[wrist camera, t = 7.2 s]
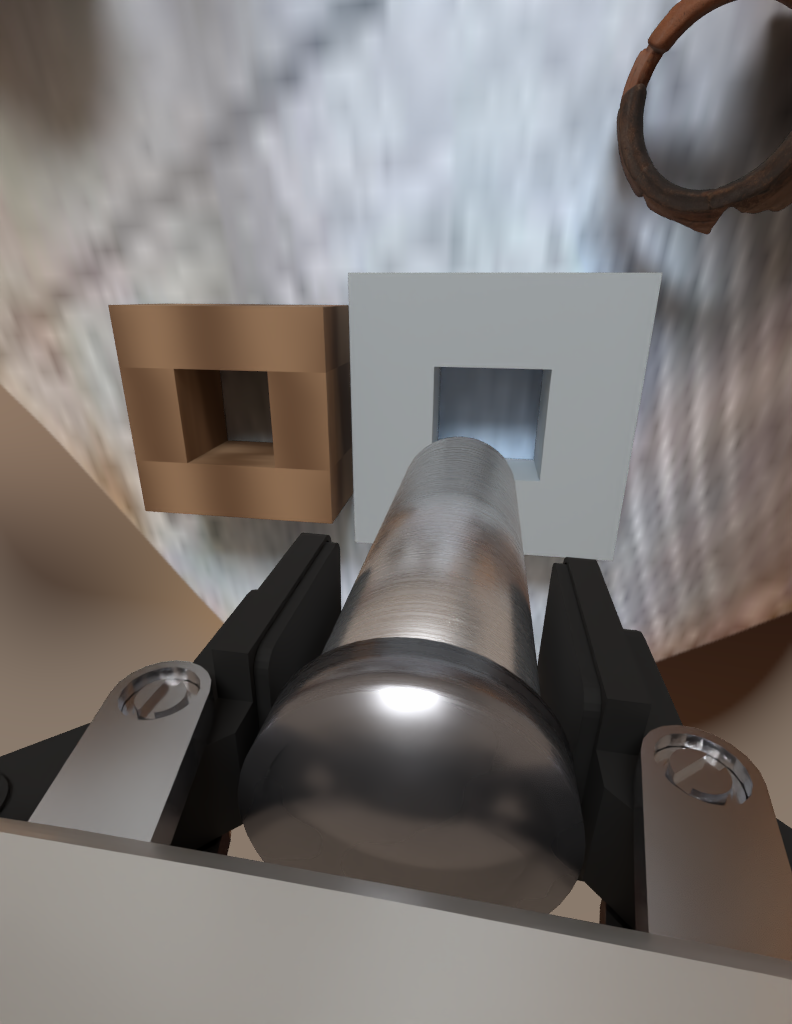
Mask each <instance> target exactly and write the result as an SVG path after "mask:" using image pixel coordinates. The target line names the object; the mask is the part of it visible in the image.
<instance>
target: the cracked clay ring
mask: <svg viewBox="0 0 792 1024" xmlns="http://www.w3.org/2000/svg"><path fill="white" fill-rule="evenodd" d="M733 1H736V0H681V1H680V2H679V3H677V4H676V5H675V6H674V7H673V8H672V9H671V10H670V11H669V13H668V14H667V15H666V16H665V17H664V19H663V20H662V21H661V22H660V23H659V25H658V26H657V27H656V29H655V30H654V31H653V33H652V34H651V36H650V37H649V39H648V44H649V45H648V47H647V48H646V49H644V50H643V51H641V52H640V53H639V55H638V57H637V59H636V60H635V63H634V65H633V67H632V69H631V72H630V74H629V77H628V79H627V82H626V85H625V88H624V91H623V95H622V99H621V103H620V109H619V111H618V115H617V136H618V146H619V154H620V159H621V163H622V167H623V170H624V173H625V176H626V178H627V180H628V182H629V184H630V186H631V188H632V190H633V191H634V193H635V194H636V195H637V196H638V197H644V199H645V201H646V204H647V206H648V208H649V209H650V210H652V211H654V212H655V213H657V214H659V215H661V216H663V217H666V218H668V219H670V220H674V221H676V222H678V223H680V224H682V225H685V226H687V227H689V228H691V229H693V230H694V231H697V232H700V233H704V234H709V233H710V232H711V229H712V227H713V226H714V225H715V224H716V222H717V221H718V219H719V217H720V216H721V215H722V213H723V212H724V211H725V210H726V209H727V208H729V207H734V208H736V209H737V210H739V211H740V212H742V213H745V212H746V213H751V214H754V213H759V212H762V211H765V210H770V211H780V210H782V209H784V208H785V207H787V206H788V205H790V204H791V203H792V130H791V132H790V133H789V135H788V136H787V137H786V139H785V140H784V141H783V143H782V144H781V145H780V146H779V148H778V149H777V150H776V151H775V152H774V153H773V154H772V155H771V156H770V157H769V158H768V159H767V160H766V161H765V162H764V163H762V164H761V165H760V166H759V167H757V168H756V169H754V170H753V171H752V172H750V173H749V174H747V175H746V176H744V177H742V178H740V179H738V180H736V181H734V182H732V183H729V184H727V185H725V186H722V187H719V188H717V189H708V190H691V189H686V188H682V187H680V186H677V185H675V184H673V183H671V182H669V181H668V180H666V179H665V178H664V177H663V176H662V175H661V174H660V173H659V172H658V171H657V170H656V168H655V167H654V165H653V164H652V161H651V159H650V157H649V155H648V153H647V150H646V147H645V143H644V137H643V113H644V105H645V100H646V94H647V91H646V87H647V85H648V82H649V80H650V78H651V76H652V73H653V71H654V69H655V67H656V65H657V64H658V62H659V60H660V59H661V57H662V55H663V54H664V53H665V52H667V51H669V49H670V48H671V47H672V46H673V44H674V43H675V42H676V41H677V39H678V38H679V37H680V36H681V35H682V34H683V33H684V32H685V31H686V30H687V29H688V28H689V27H690V26H691V25H693V24H694V23H695V22H696V21H697V20H699V19H700V18H701V17H703V16H704V15H706V14H707V13H709V12H711V11H712V10H714V9H716V8H718V7H720V6H722V5H724V4H727V3H730V2H733ZM776 1H778V2H780V3H782V4H784V5H786V6H787V7H789V8H791V9H792V0H776Z"/></svg>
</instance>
